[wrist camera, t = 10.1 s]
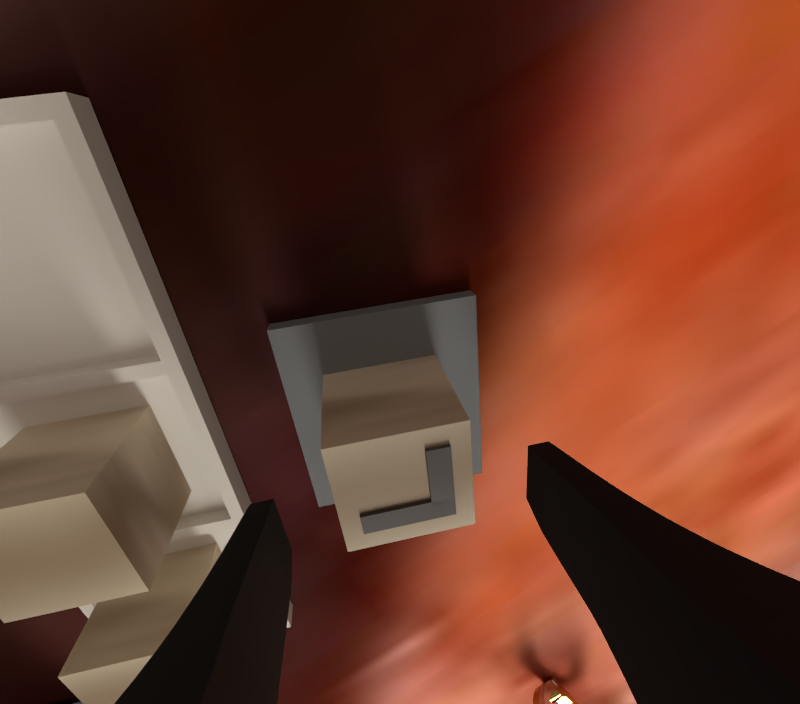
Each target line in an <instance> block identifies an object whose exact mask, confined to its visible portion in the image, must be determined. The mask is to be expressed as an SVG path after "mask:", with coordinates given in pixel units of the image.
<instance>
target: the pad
mask: <svg viewBox="0 0 800 704" xmlns="http://www.w3.org/2000/svg"><path fill="white" fill-rule="evenodd" d="M267 333H268V336H269V340H270V343H271V346H272V350H273V353H274V357H275V360H276V363H277V367H278V370H279V373H280V377H281V380H282V384H283V387H284V390H285V394H286V397H287V400H288V404H289V407H290V411H291V414H292V417H293V421H294V424H295V427H296V431H297V434H298V438H299V441H300V444H301V448H302V451H303V454H304V458H305V461H306V465H307V468H308V471H309V475H310V478H311V481H312V485H313V488H314V492H315V495H316V498H317V502H318V505H319V507H321V506H326V505H331V504H335V502H334V498H333V494H332V491H331V487H330V483H329V479H328V476H327V472H326V468H325V465H324V461H323V457H322V454H321V450H320V449H321V419H322V388H323V375H326V374H332V373H337V372H343V371H348V370H354V369H359V368H365V367H370V366H376V365H381V364H387V363H392V362H398V361H403V360H409V359H414V358H420V357H425V356H431V355H435V356H436V358H437V360H438V362H439V363H440V365H441V367H442V369H443V371H444V373H445V375H446V376H447V378H448V380H449V382H450V384H451V386H452V388H453V389H454V391H455V393H456V395H457V397H458V399H459V400H460V402H461V404H462V406H463V408H464V410H465V412H466V413H467V415H468V417H469V419H470V429H471V449H472V470H473V474H478V473H482V457H481V428H480V398H479V369H478V340H477V311H476V295H475V294H474V293H473V292H472V291H471V290H468V291H462V292H456V293H450V294H444V295H438V296H432V297H426V298H421V299H415V300H409V301H403V302H397V303H391V304H385V305H379V306H373V307H367V308H361V309H355V310H349V311H343V312H337V313H331V314H325V315H319V316H314V317H308V318H302V319H296V320H290V321H284V322H278V323H272V324H269V326H268V329H267Z"/></svg>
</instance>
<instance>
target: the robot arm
mask: <svg viewBox="0 0 800 704" xmlns="http://www.w3.org/2000/svg"><path fill="white" fill-rule="evenodd" d="M527 500H528V502H529V505H530V507H531V509H532V511H533V514H534V516H535V518H536V520H537V522H538V524H539V526H540V528H541V530H542V532H543V534H544V536H545V537H546V539H547V541H548V543H549V544H550V546H551V547H552V549H553V551H554V552H555V554H556V556H557V557H558V559H559V561H560V562H561V564H562V566H563V567H564V569H565V570H566V572H567V574H568V575H569V577H570V579H571V580H572V582H573V584H574V585H575V587H576V588H577V590H578V592H579V593H580V595H581V597H582V598H583V600H584V601H585V603H586V605H587V606H588V608H589V610H590V611H591V613H592V615H593V617H594V618H595V620H596V622H597V624H598V626H599V627H600V629H601V631H602V633H603V635H604V637H605V639H606V641H607V643H608V645H609V647H610V649H611V651H612V653H613V655H614V657H615V659H616V661H617V663H618V665H619V667H620V669H621V671H622V673H623V675H624V677H625V679H626V681H627V683H628V685H629V688H630V690H631V692H632V694H633V696H634V698H635V700H636V702H637V704H800V581H798V580H795V579H793V578H790V577H788V576H786V575H783V574H781V573H779V572H776V571H774V570H771V569H769V568H767V567H765V566H762V565H760V564H758V563H756V562H754V561H751V560H749V559H747V558H745V557H742V556H740V555H738V554H736V553H734V552H731V551H729V550H727V549H725V548H723V547H721V546H719V545H717V544H715V543H713V542H711V541H709V540H707V539H705V538H703V537H701V536H699V535H697V534H695V533H693V532H691V531H690V530H688V529H686V528H684V527H682V526H680V525H678V524H676V523H674V522H673V521H671V520H669V519H667V518H665V517H664V516H662V515H660V514H658V513H657V512H655V511H653V510H652V509H650V508H648V507H647V506H645V505H643V504H642V503H640V502H638V501H637V500H635V499H633V498H632V497H630V496H629V495H627V494H625V493H624V492H622V491H621V490H619V489H617V488H616V487H614V486H613V485H611V484H610V483H608V482H607V481H605V480H604V479H602V478H601V477H599V476H598V475H596V474H595V473H593V472H592V471H590V470H589V469H587V468H586V467H585V466H583V465H582V464H580V463H579V462H577V461H576V460H574V459H573V458H572V457H570V456H569V455H567V454H566V453H564V452H563V451H562V450H560V449H559V448H557V447H556V446H554V445H553V444H551V443H550V442H544V443H539V444H534V445H529V446H528V467H527ZM291 578H292V549H291V546H290V543H289V541H288V538H287V535H286V532H285V530H284V527H283V524H282V521H281V519H280V516H279V513H278V510H277V508H276V505H275V502H274V499H271V500H267V501H262V502H257V503H252V504H250V505H249V506H248V508H247V510H246V511H245V513H244V515H243V517H242V518H241V520H240V522H239V524H238V525H237V527H236V529H235V531H234V532H233V534H232V536H231V537H230V539H229V541H228V543H227V544H226V546H225V548H224V549H223V551H222V553H221V554H220V556H219V558H218V559H217V561H216V563H215V564H214V566H213V567H212V569H211V571H210V572H209V574H208V575H207V577H206V579H205V580H204V582H203V584H202V585H201V587H200V588H199V590H198V591H197V593H196V594H195V596H194V597H193V599H192V600H191V602H190V603H189V605H188V606H187V608H186V609H185V611H184V612H183V613H182V615H181V616H180V618H179V619H178V621H177V622H176V624H175V625H174V627H173V628H172V629H171V631H170V632H169V634H168V635H167V636H166V638H165V639H164V641H163V642H162V643H161V645H160V646H159V647H158V649H157V650H156V651H155V653H154V654H153V655H152V657H151V658H150V659H149V661H148V662H147V663H146V665H145V666H144V667H143V668H142V670H141V671H140V672H139V674H138V675H137V676H136V677H135V679H134V680H133V681H132V682H131V684H130V685H129V686H128V687H127V689H126V690H125V691H124V692H123V693H122V695H121V696H120V697H119V698H118V700H117V701H116V702H115V703H114V704H277V700H278V689H279V681H280V674H281V666H282V658H283V651H284V643H285V635H286V628H287V620H288V612H289V604H290V596H291ZM73 704H83V703H82V702H77V703H73Z"/></svg>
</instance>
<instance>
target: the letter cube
mask: <svg viewBox="0 0 800 704" xmlns="http://www.w3.org/2000/svg"><path fill="white" fill-rule="evenodd" d="M320 450H321V454H322V457H323V461H324V465H325V468H326V472H327V476H328V479H329V483H330V487H331V491H332V494H333V498H334V502H335V505H336V509H337V513H338V517H339V520H340V524H341V528H342V531H343V535H344V539H345V542H346V546H347V550H348V552H350V551H354V550H359V549H363V548H368V547H372V546H377V545H381V544H386V543H390V542H395V541H399V540H404V539H408V538H413V537H417V536H422V535H426V534H431V533H435V532H440V531H444V530H449V529H453V528H458V527H462V526H467V525H471V524H475V510H474V490H473V470H472V449H471V429H470V419H469V417H468V415H467V413H466V412H465V410H464V408H463V406H462V404H461V402H460V400H459V399H458V397H457V395H456V393H455V391H454V389H453V388H452V386H451V384H450V382H449V380H448V378H447V376H446V375H445V373H444V371H443V369H442V367H441V365H440V363H439V362H438V360H437V358H436V356H435V355H431V356H425V357H420V358H414V359H409V360H403V361H398V362H392V363H387V364H381V365H376V366H370V367H365V368H359V369H354V370H348V371H343V372H337V373H332V374H326V375H323V388H322V419H321V449H320Z"/></svg>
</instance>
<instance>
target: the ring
mask: <svg viewBox="0 0 800 704" xmlns="http://www.w3.org/2000/svg"><path fill="white" fill-rule="evenodd" d="M550 701H551V702H552V703H554V702H556V701H557V702H558V703H559V704H578V702H577V701H576V700H575V699H574V698H573V697H572V696H571V694H570V693H569V692H568V691H567V690H565V689H564V688H563V687H562V686H561V685H560V684H559V682H558V681H557V680H556V679H555V678H554V677H553V678H551V679H550V680H548V681H546V682H545V683H543V684H541V685H540V686H538V687H537V688H536V689H535V692H534V696H533V704H550Z"/></svg>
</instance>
